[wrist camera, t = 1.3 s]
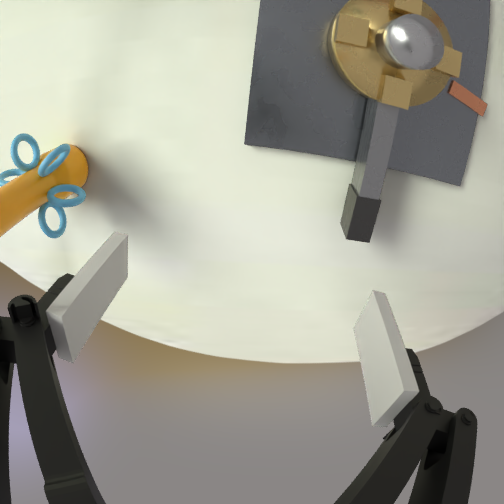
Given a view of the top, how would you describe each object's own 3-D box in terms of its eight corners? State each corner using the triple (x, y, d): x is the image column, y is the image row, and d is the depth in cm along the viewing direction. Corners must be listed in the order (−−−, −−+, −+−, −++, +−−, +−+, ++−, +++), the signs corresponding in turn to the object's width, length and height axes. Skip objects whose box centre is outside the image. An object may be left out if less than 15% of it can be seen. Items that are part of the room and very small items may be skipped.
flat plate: (270, -70, 19) (266, -114, 11) (491, -3, 19) (541, -12, 11) (245, 142, 31) (232, 167, 23) (461, 184, 31) (505, 220, 23)
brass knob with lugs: (333, -15, 21) (344, -32, 17) (439, 17, 21) (465, 10, 16) (300, 215, 34) (303, 240, 29) (396, 231, 33) (412, 256, 29)
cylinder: (118, 135, 32) (31, 180, 19) (107, 217, 37) (38, 290, 24) (37, 118, 31) (-53, 154, 18) (33, 193, 36) (-42, 248, 23)
